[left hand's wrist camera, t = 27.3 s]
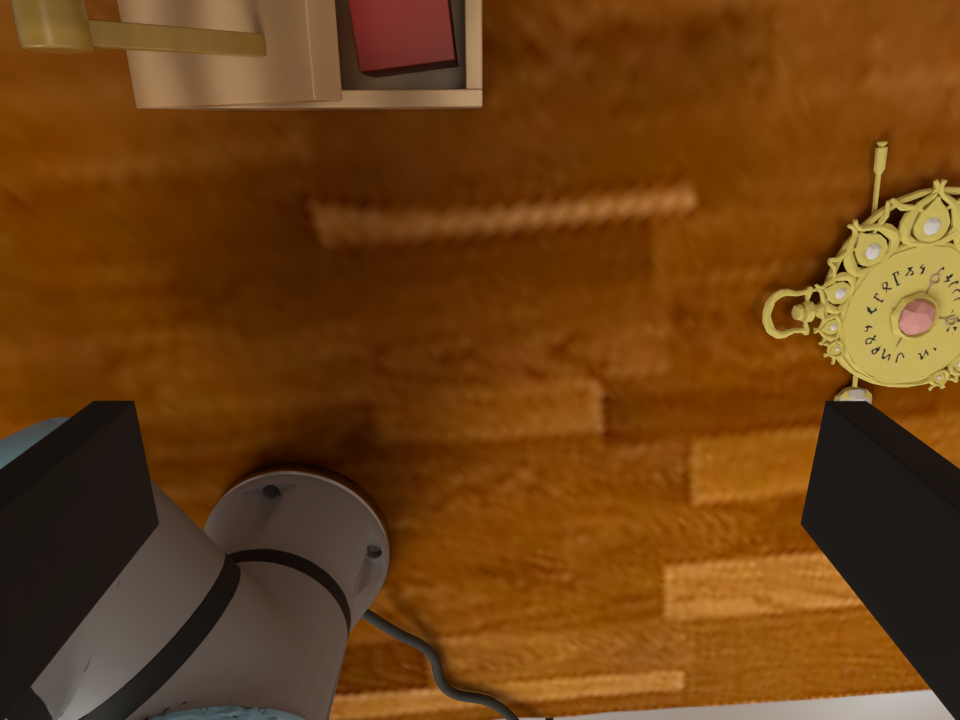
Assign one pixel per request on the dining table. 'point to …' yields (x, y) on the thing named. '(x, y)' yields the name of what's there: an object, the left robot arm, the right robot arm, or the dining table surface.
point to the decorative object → (890, 294)
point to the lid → (201, 47)
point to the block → (403, 36)
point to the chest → (406, 89)
